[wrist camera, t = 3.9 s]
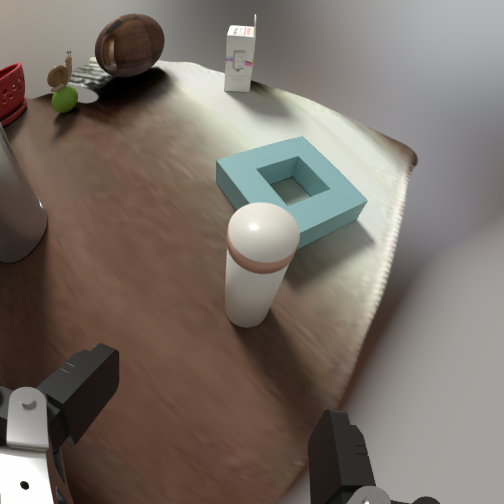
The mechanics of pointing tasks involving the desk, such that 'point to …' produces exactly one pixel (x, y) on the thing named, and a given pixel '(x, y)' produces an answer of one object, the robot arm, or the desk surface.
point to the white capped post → (257, 260)
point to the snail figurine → (62, 87)
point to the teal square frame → (305, 173)
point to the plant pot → (11, 93)
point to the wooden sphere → (129, 45)
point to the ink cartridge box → (239, 58)
